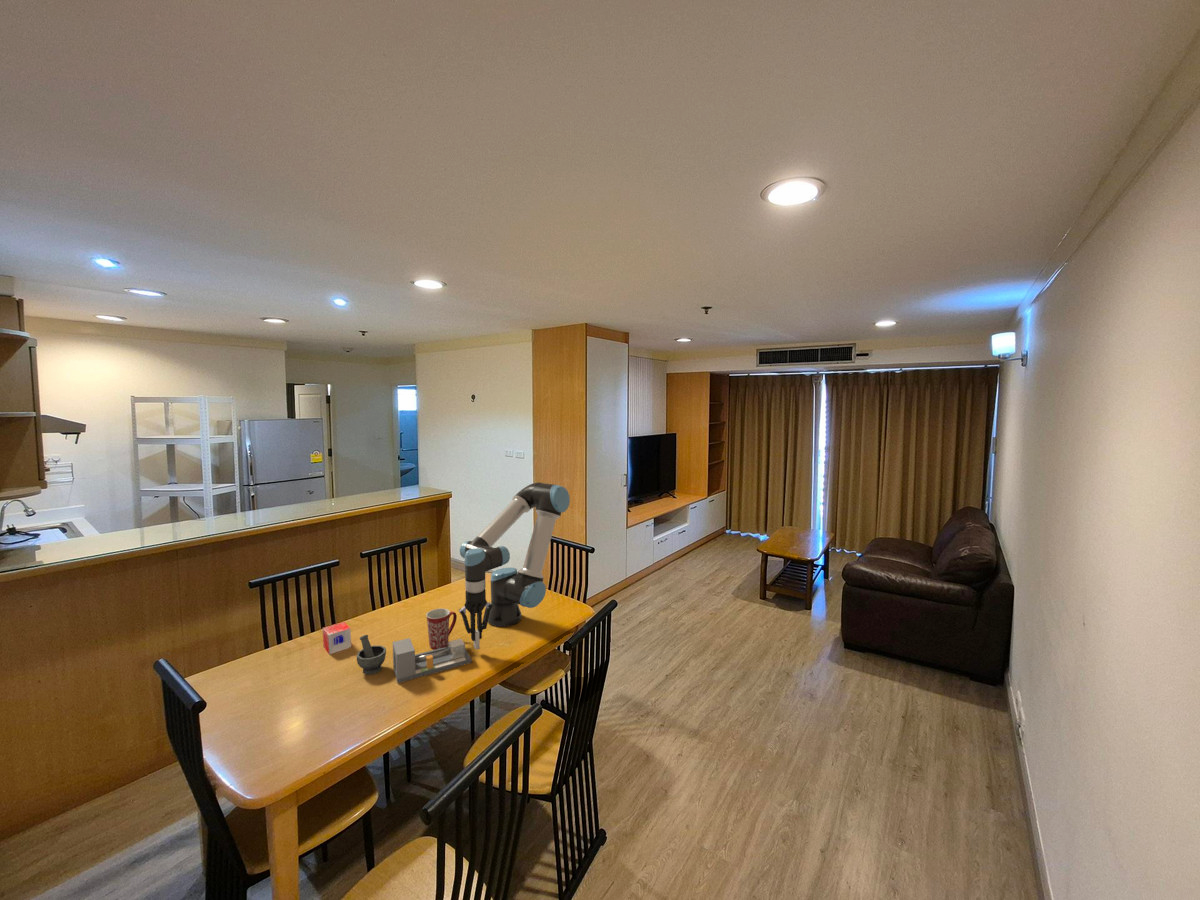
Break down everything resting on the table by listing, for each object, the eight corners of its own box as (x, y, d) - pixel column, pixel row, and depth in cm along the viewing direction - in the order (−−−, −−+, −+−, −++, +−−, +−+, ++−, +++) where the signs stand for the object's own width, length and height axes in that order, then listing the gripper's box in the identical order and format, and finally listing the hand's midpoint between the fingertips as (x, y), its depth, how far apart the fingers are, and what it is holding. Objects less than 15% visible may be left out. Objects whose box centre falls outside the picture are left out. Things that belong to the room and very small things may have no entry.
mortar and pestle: (391, 668, 173) (390, 637, 172) (366, 680, 166) (365, 648, 164) (375, 658, 180) (374, 628, 179) (350, 670, 172) (349, 638, 171)
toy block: (345, 640, 194) (344, 621, 193) (351, 647, 188) (350, 628, 187) (323, 646, 188) (322, 628, 187) (329, 654, 182) (328, 635, 182)
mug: (434, 653, 184) (433, 620, 183) (422, 645, 190) (421, 613, 189) (462, 641, 194) (462, 610, 192) (450, 634, 199) (450, 603, 198)
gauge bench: (464, 650, 186) (463, 625, 185) (471, 662, 178) (471, 636, 177) (393, 669, 173) (392, 642, 172) (397, 683, 164) (396, 654, 163)
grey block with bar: (461, 650, 183) (461, 638, 183) (466, 659, 177) (466, 646, 177) (408, 664, 173) (407, 651, 173) (411, 674, 167) (410, 660, 167)
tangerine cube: (432, 665, 172) (431, 654, 172) (433, 667, 171) (432, 657, 170) (426, 666, 171) (426, 656, 171) (427, 669, 170) (427, 658, 169)
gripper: (489, 582, 188) (489, 639, 190) (455, 589, 181) (457, 647, 184) (495, 589, 181) (495, 647, 184) (461, 596, 175) (462, 656, 177)
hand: (476, 647), depth 184 cm, fingers closed
